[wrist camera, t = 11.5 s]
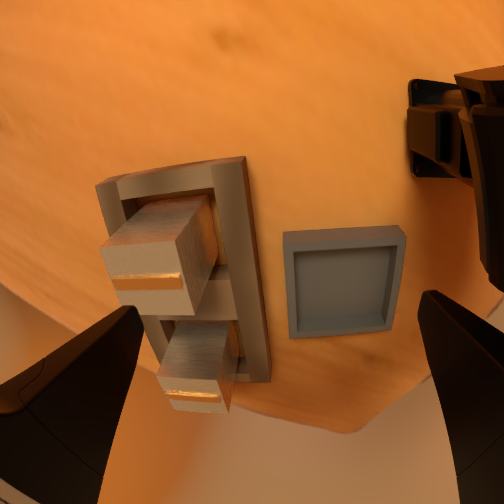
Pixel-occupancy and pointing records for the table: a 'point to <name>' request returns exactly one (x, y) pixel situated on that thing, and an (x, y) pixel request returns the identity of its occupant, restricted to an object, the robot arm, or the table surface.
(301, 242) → the grey tray
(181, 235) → the block
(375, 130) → the table surface
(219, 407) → the block
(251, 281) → the grey flat frame
